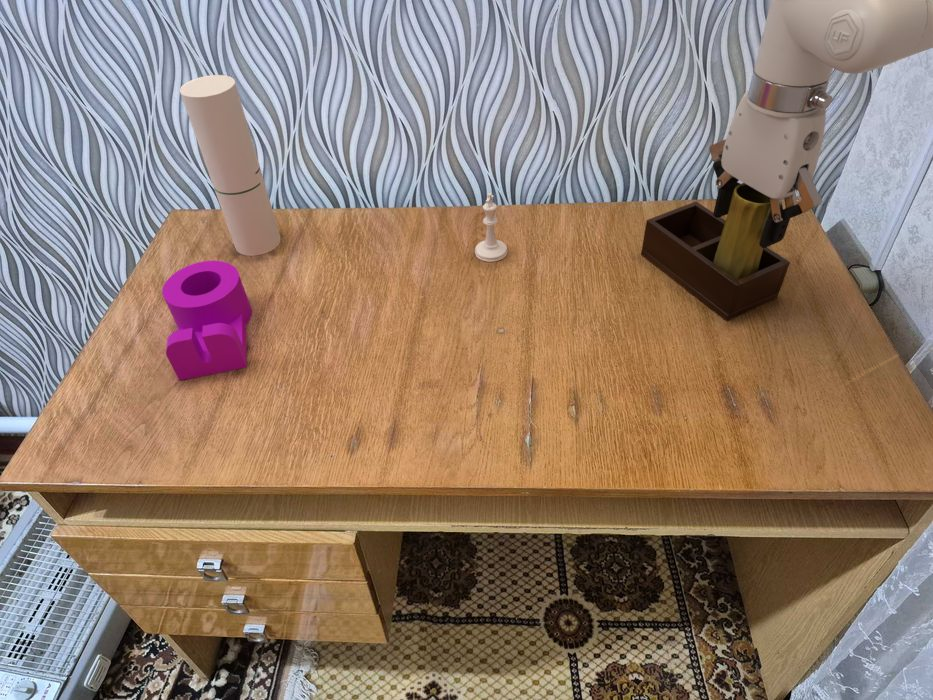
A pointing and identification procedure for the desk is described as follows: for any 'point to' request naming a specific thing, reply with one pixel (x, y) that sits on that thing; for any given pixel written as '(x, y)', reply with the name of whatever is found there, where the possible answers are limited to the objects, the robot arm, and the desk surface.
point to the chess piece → (490, 236)
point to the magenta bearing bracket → (207, 319)
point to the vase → (743, 232)
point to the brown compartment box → (708, 261)
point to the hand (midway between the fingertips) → (746, 227)
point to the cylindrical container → (231, 162)
